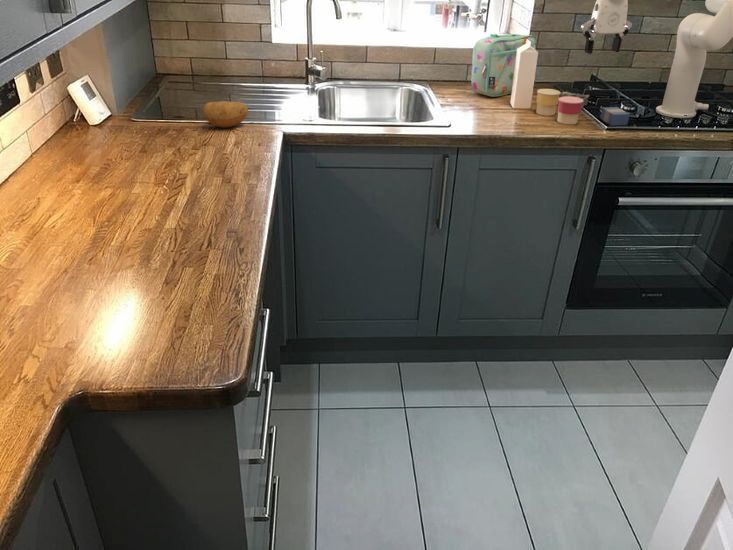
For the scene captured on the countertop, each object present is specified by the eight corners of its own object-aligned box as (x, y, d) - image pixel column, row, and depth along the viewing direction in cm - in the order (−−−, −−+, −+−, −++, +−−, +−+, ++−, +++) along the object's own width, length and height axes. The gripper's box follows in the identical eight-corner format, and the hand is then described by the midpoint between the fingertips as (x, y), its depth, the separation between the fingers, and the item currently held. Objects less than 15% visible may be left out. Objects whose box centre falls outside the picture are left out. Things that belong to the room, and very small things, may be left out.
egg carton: (551, 104, 218) (553, 92, 216) (560, 99, 223) (562, 88, 221) (580, 109, 212) (582, 97, 210) (589, 104, 217) (591, 93, 215)
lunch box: (485, 101, 220) (492, 38, 209) (465, 95, 228) (470, 34, 217) (534, 90, 234) (542, 31, 223) (514, 84, 241) (521, 27, 230)
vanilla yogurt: (555, 110, 211) (558, 89, 207) (558, 116, 205) (561, 94, 201) (533, 109, 212) (536, 88, 208) (535, 115, 206) (538, 94, 202)
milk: (513, 108, 213) (521, 42, 201) (509, 103, 218) (517, 38, 206) (530, 108, 213) (539, 42, 201) (527, 103, 218) (535, 38, 206)
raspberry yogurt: (577, 118, 203) (581, 96, 199) (581, 125, 196) (585, 103, 193) (553, 117, 204) (557, 95, 200) (556, 124, 197) (560, 102, 194)
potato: (250, 129, 191) (248, 104, 187) (204, 132, 189) (201, 106, 185) (249, 120, 200) (246, 96, 195) (205, 123, 197) (201, 98, 193)
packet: (615, 117, 204) (617, 107, 202) (627, 125, 197) (629, 113, 195) (599, 118, 203) (602, 107, 201) (610, 125, 196) (613, 114, 194)
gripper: (594, -5, 180) (584, 56, 189) (645, -7, 183) (632, 53, 192) (580, -8, 186) (571, 51, 195) (630, -9, 190) (618, 48, 199)
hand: (601, 52), depth 194 cm, fingers open, 9 cm apart
